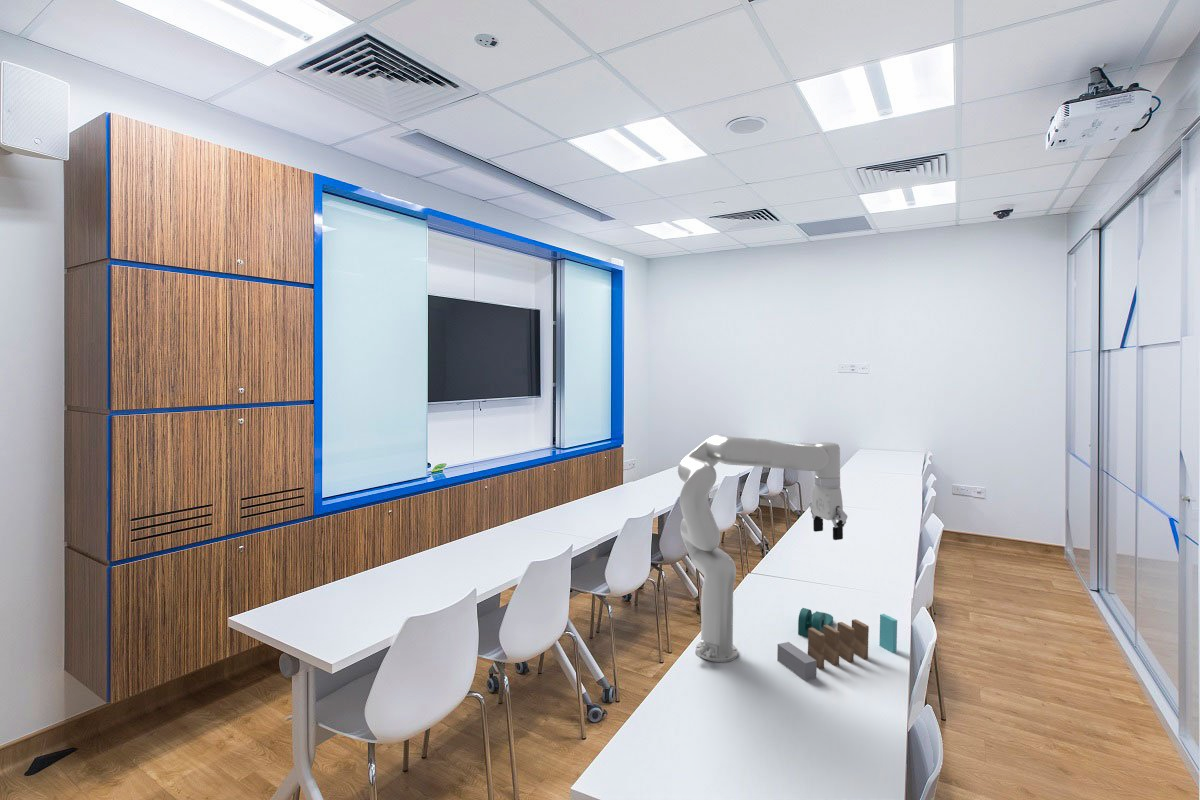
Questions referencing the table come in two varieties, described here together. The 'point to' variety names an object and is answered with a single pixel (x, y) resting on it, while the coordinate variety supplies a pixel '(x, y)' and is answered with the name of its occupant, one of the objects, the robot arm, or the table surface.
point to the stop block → (797, 661)
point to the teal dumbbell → (812, 621)
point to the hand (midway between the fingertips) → (827, 535)
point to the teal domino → (888, 633)
